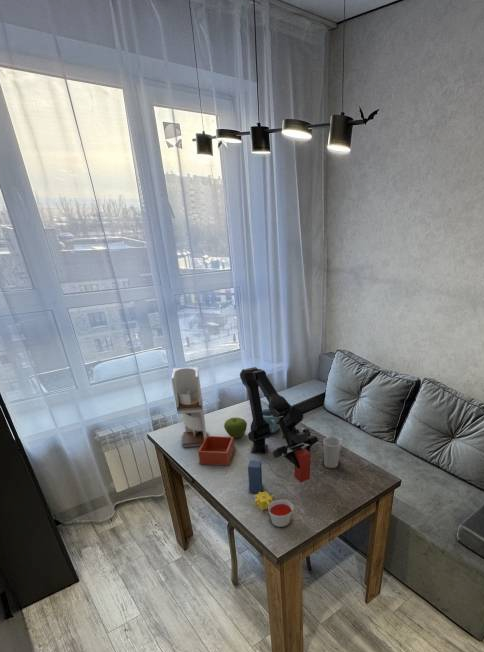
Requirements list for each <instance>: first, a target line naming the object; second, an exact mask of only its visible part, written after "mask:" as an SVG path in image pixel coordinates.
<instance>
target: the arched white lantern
mask: <svg viewBox="0 0 484 652" xmlns="http://www.w3.org/2000/svg"><path fill="white" fill-rule="evenodd" d="M171 382H172V389H173V395H174V400H175V406H176V412H177V415H181V421H182V424H183V425H184V428H185V429H184V430H185V431H182V432H183V435H182V448H191V447H201V445H202V443H203V441H204V440H205V438H206V436H208V435H207V427H206V419H205V411H204V403H203V395H202V388H201V380H200V373H199V367H198V366H192V367H173V368H172V374H171Z"/></svg>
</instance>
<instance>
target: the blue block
mask: <svg viewBox="0 0 484 652" xmlns="http://www.w3.org/2000/svg"><path fill="white" fill-rule="evenodd" d="M262 469H263V468H262V460H249V462H248V465H247V474H248V489H249V493H252V494H253V493H255V494H258V492H261V493H262V489H263V474H262Z"/></svg>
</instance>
